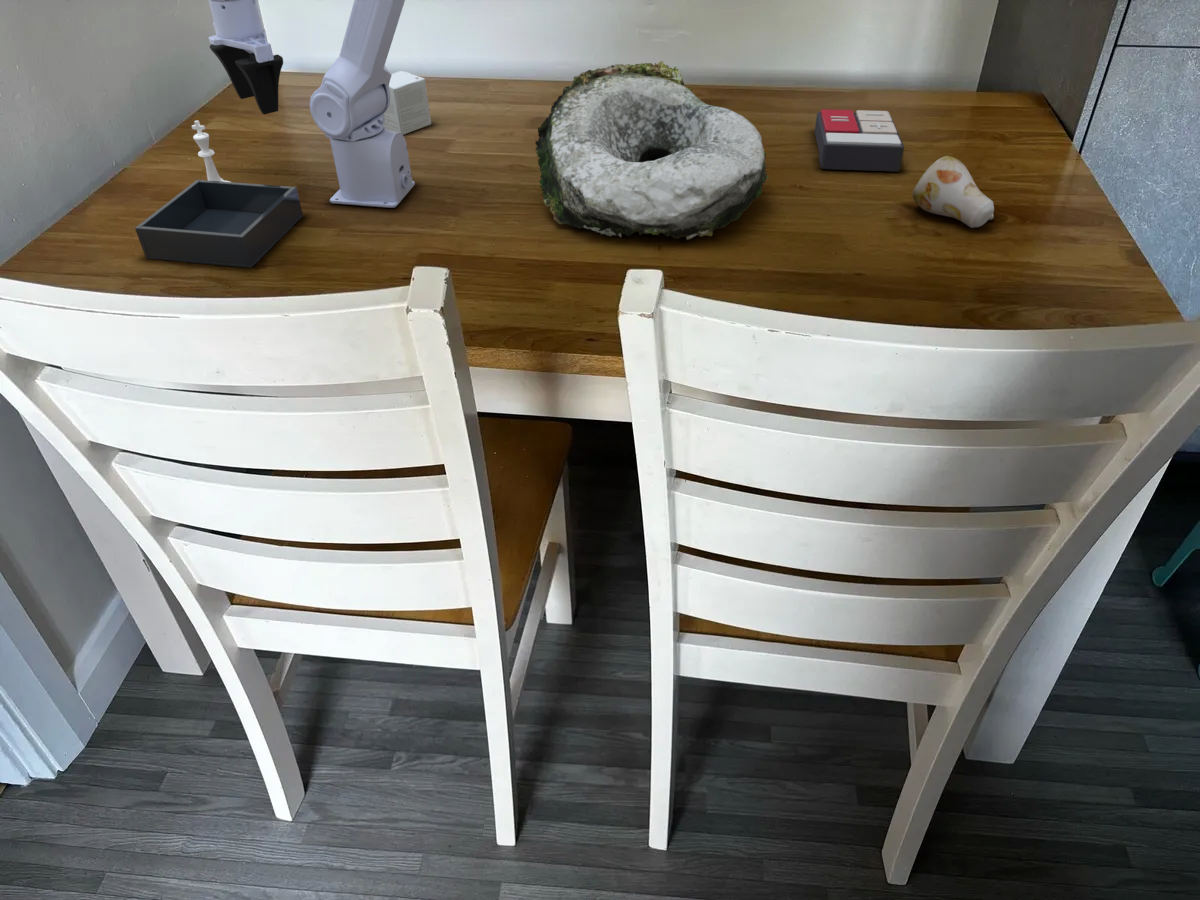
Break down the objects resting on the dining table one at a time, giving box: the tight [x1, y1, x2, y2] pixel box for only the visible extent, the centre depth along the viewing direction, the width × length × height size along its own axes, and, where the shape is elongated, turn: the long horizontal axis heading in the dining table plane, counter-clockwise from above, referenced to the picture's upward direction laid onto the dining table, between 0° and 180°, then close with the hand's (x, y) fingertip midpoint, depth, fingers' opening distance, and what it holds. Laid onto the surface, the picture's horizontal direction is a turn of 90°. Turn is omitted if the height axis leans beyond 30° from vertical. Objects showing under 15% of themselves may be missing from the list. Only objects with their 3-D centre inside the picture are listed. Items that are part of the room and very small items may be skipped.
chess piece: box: [191, 120, 231, 182], centre depth 123 cm, size 5×5×10 cm
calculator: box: [814, 108, 905, 173], centre depth 133 cm, size 11×4×15 cm
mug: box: [912, 155, 995, 229], centre depth 115 cm, size 8×10×10 cm
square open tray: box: [134, 179, 304, 269], centre depth 114 cm, size 14×14×4 cm
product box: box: [383, 70, 432, 136], centre depth 142 cm, size 6×6×7 cm
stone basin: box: [534, 60, 770, 241], centre depth 118 cm, size 29×30×15 cm
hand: (258, 104), depth 123 cm, fingers open, 7 cm apart
